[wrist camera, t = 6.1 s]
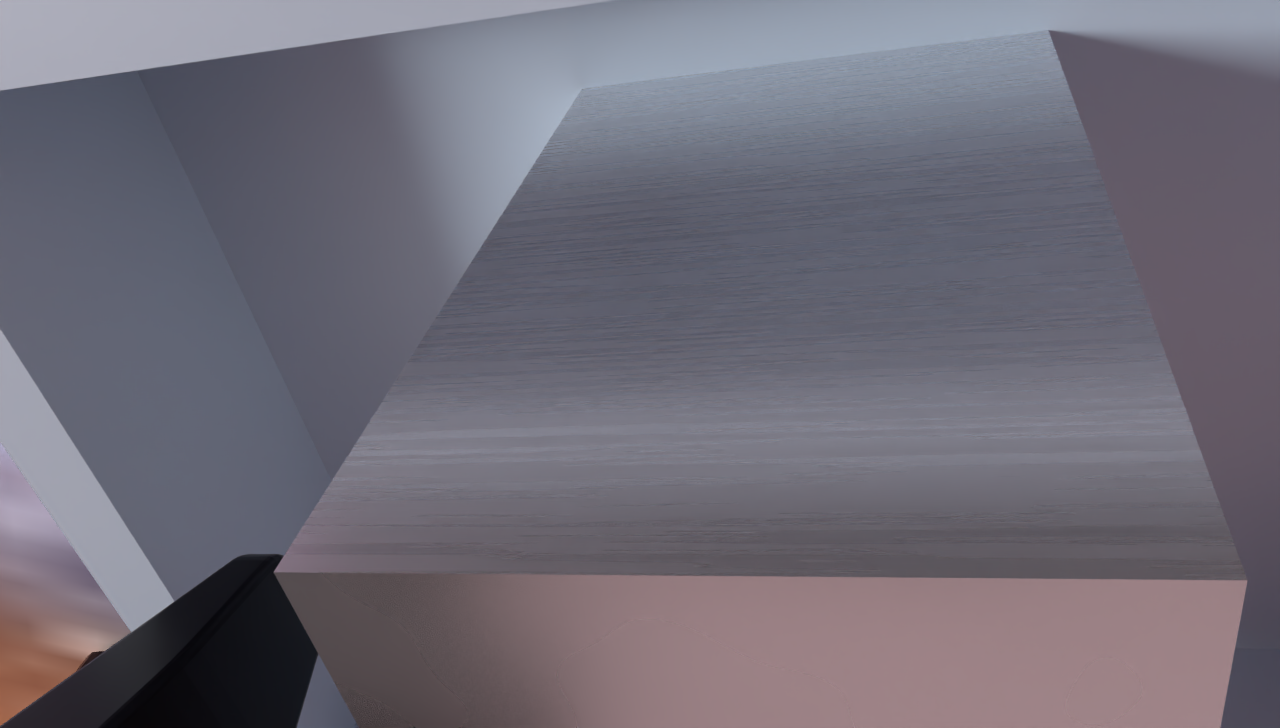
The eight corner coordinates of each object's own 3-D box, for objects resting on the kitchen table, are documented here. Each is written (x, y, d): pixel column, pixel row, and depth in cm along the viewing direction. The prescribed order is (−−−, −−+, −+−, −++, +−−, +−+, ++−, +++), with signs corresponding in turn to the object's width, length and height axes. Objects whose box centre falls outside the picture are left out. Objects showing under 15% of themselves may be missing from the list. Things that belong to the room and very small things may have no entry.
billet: (1035, 554, 12) (1133, 1203, 7) (691, 554, 13) (573, 1114, 8) (1048, 29, 8) (1246, 580, 4) (582, 88, 10) (274, 573, 5)
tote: (1512, 660, 12) (1697, 975, 9) (385, 630, 16) (279, 846, 13) (1990, -500, 6) (2857, -579, 3) (30, -97, 10) (-292, 18, 7)
